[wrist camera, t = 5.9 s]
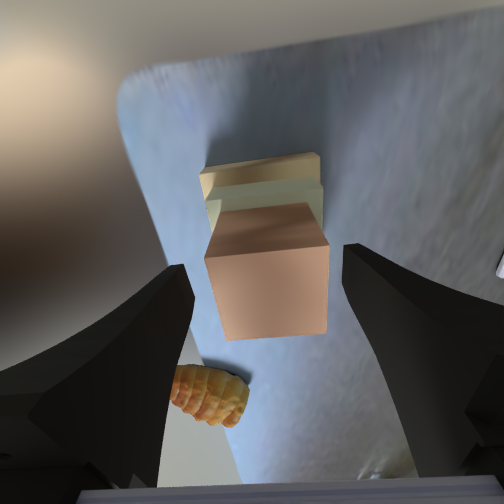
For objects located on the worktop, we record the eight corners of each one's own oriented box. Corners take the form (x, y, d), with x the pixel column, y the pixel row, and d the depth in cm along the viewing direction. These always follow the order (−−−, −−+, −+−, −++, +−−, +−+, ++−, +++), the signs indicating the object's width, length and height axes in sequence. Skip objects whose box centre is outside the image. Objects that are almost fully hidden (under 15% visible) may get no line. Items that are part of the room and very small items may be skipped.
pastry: (158, 383, 29) (145, 418, 26) (178, 349, 26) (166, 385, 23) (230, 404, 31) (227, 439, 28) (255, 376, 28) (255, 411, 25)
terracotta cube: (306, 202, 12) (329, 245, 9) (307, 273, 15) (326, 333, 11) (220, 212, 13) (203, 258, 9) (234, 280, 15) (226, 340, 11)
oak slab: (311, 150, 16) (320, 157, 14) (312, 244, 19) (319, 261, 17) (206, 165, 16) (198, 174, 14) (226, 254, 20) (222, 271, 18)
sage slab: (313, 175, 14) (323, 187, 12) (312, 262, 17) (320, 284, 15) (212, 187, 15) (204, 201, 12) (229, 269, 18) (225, 292, 16)
